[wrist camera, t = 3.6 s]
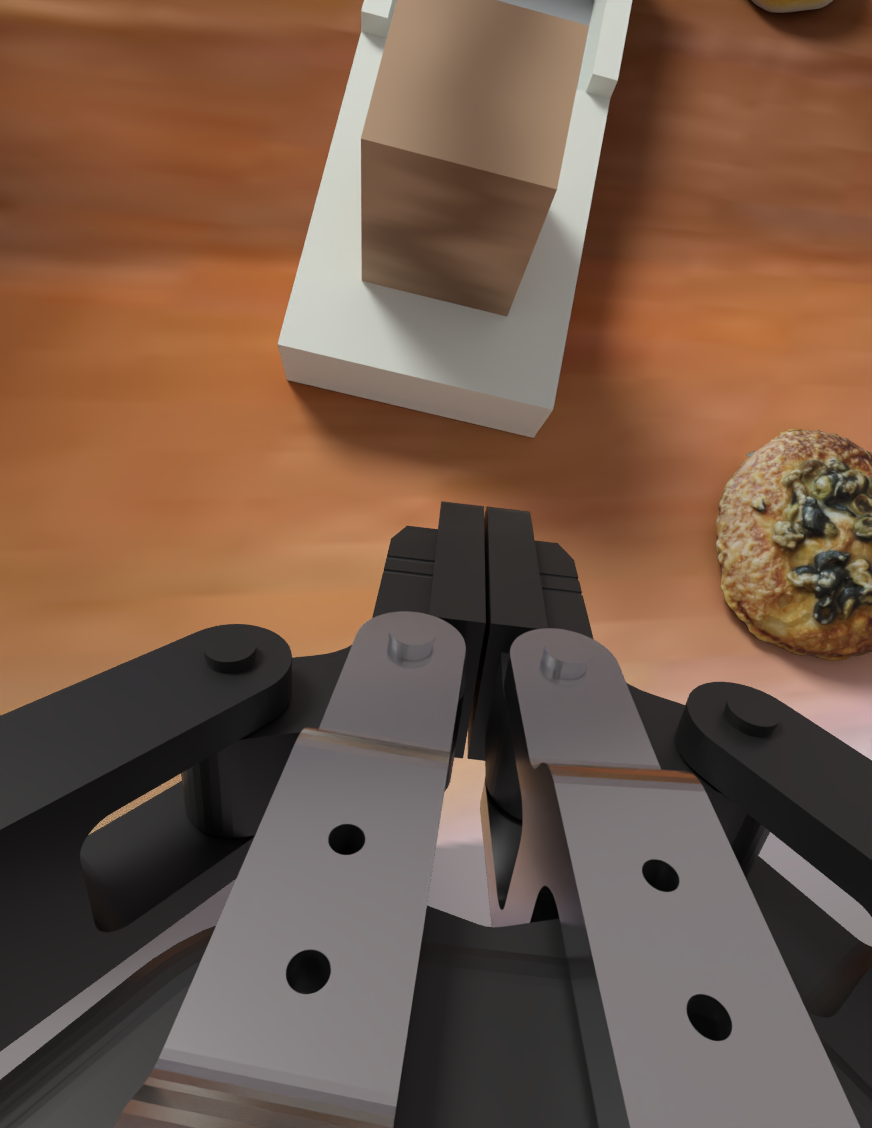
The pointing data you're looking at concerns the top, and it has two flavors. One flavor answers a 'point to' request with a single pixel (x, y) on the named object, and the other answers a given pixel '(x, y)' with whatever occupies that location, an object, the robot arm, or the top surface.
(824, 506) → the bread roll
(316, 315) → the ledge
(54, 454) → the top surface
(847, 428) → the top surface
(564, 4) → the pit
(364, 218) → the block
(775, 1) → the bread roll
